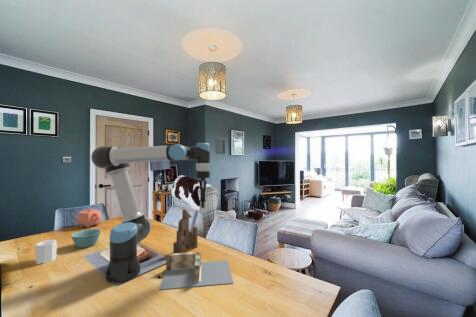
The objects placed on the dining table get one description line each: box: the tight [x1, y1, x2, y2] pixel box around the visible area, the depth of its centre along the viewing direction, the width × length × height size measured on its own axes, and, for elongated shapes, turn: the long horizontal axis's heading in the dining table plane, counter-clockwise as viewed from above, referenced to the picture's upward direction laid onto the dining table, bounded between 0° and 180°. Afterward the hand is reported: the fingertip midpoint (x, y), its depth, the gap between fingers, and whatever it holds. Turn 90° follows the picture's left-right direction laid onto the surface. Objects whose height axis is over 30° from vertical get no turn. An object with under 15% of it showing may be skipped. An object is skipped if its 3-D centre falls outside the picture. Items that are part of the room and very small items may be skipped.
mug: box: [34, 239, 58, 265], centre depth 117 cm, size 12×9×10 cm
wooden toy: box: [172, 209, 199, 254], centre depth 131 cm, size 15×7×25 cm, turn 152°
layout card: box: [159, 259, 234, 291], centre depth 104 cm, size 32×22×1 cm
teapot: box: [76, 208, 102, 229], centre depth 178 cm, size 22×13×14 cm, turn 71°
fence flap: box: [194, 253, 202, 281], centre depth 102 cm, size 12×2×7 cm, turn 8°
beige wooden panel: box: [165, 251, 202, 271], centre depth 109 cm, size 17×2×8 cm, turn 99°
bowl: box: [70, 228, 102, 249], centre depth 138 cm, size 16×16×8 cm
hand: (202, 213), depth 117 cm, fingers closed
